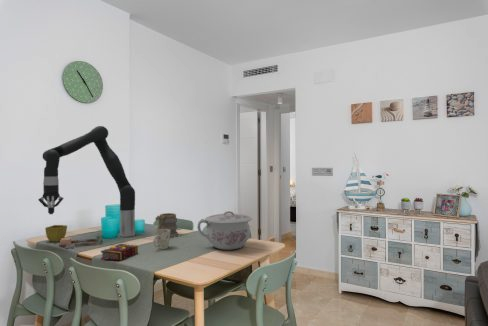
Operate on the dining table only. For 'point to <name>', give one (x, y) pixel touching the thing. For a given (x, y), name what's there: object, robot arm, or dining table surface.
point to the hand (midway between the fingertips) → (51, 214)
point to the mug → (162, 238)
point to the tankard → (168, 223)
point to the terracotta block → (65, 241)
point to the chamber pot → (227, 230)
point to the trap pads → (73, 246)
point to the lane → (99, 239)
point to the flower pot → (56, 232)
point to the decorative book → (119, 252)
